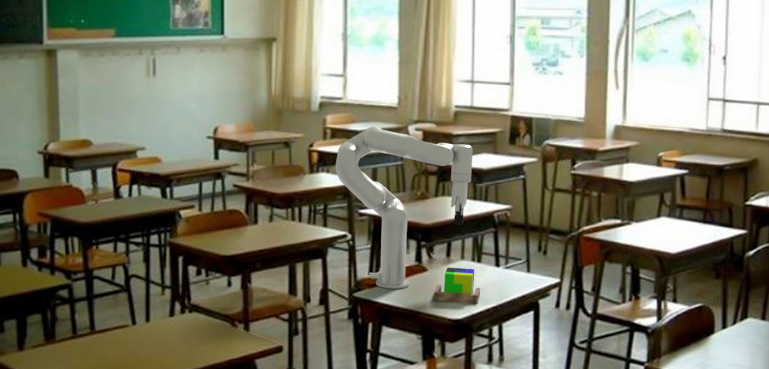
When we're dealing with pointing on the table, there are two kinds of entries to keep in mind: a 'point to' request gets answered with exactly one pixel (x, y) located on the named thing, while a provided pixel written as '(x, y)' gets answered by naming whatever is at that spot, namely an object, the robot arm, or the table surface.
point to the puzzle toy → (459, 280)
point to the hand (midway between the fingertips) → (458, 224)
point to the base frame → (456, 296)
